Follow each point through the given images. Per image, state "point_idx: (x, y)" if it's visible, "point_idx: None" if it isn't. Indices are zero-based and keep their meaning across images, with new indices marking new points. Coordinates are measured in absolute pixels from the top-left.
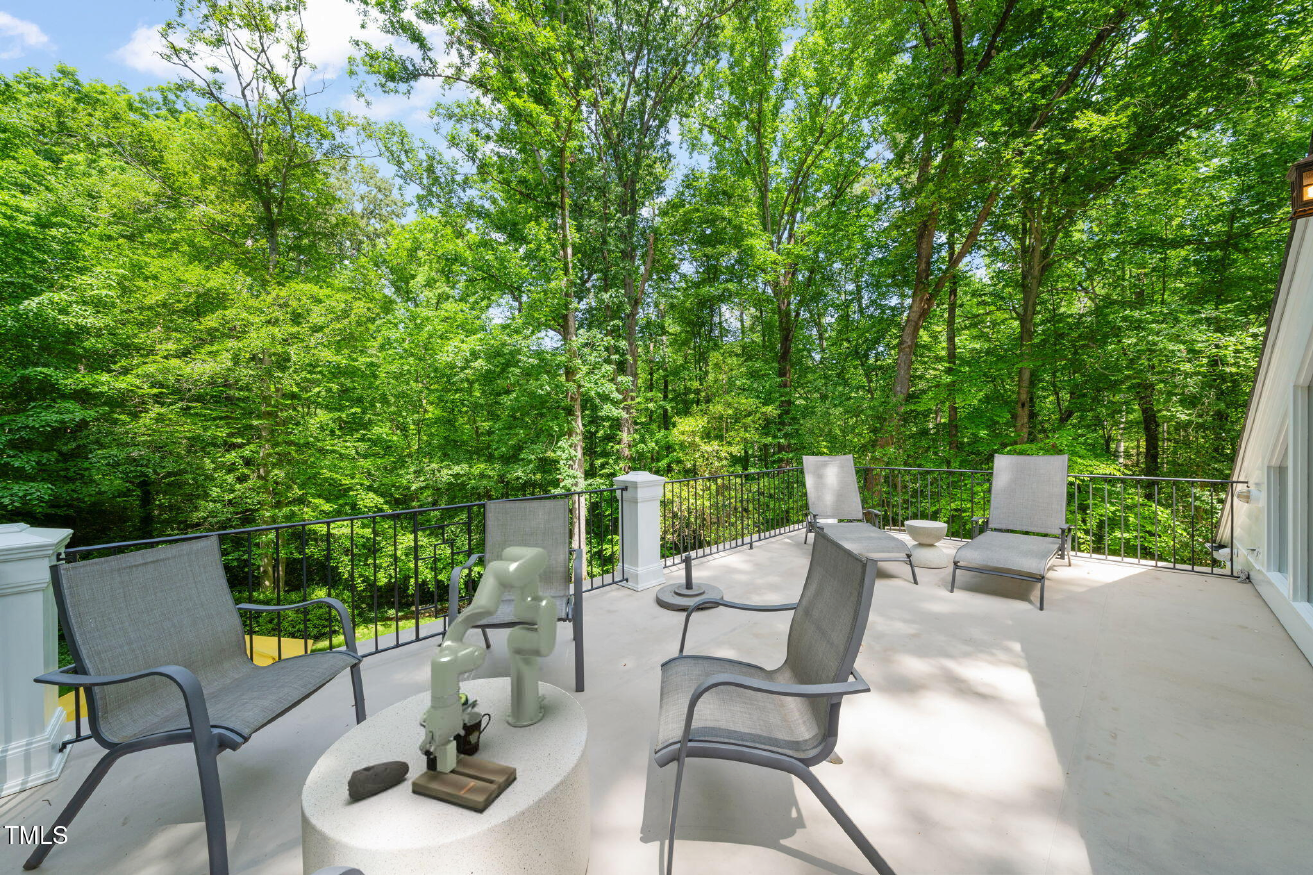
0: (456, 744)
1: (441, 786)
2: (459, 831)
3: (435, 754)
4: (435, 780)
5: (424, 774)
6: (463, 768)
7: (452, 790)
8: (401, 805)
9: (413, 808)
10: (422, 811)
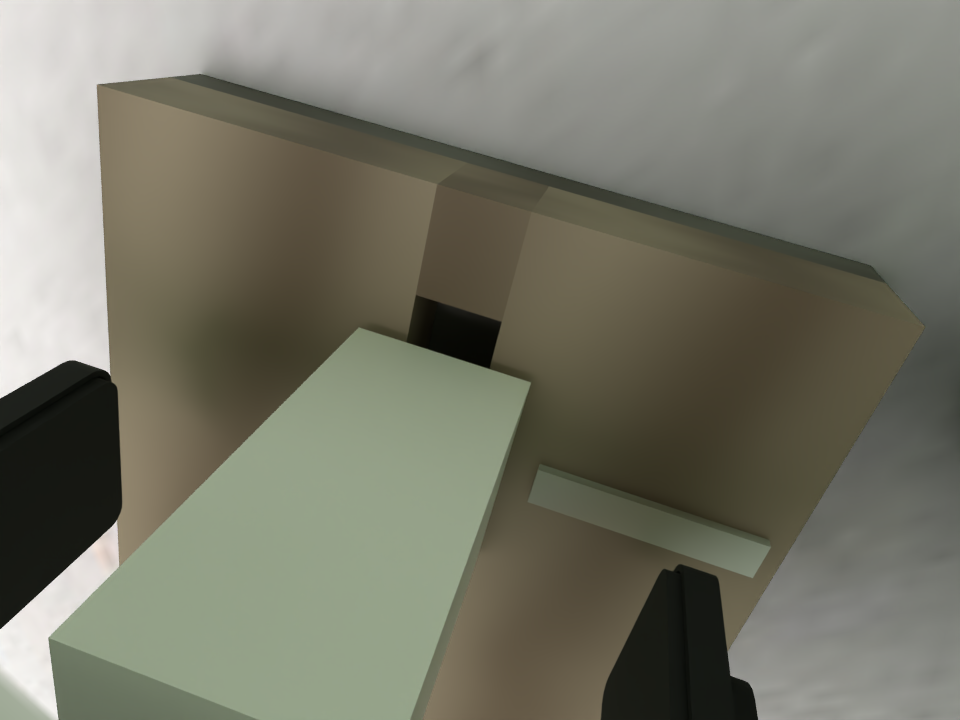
0: (636, 717)
1: (155, 516)
2: (34, 663)
3: (224, 467)
4: (215, 409)
5: (275, 188)
6: (473, 630)
7: None
8: (19, 88)
9: (43, 254)
10: (52, 360)
